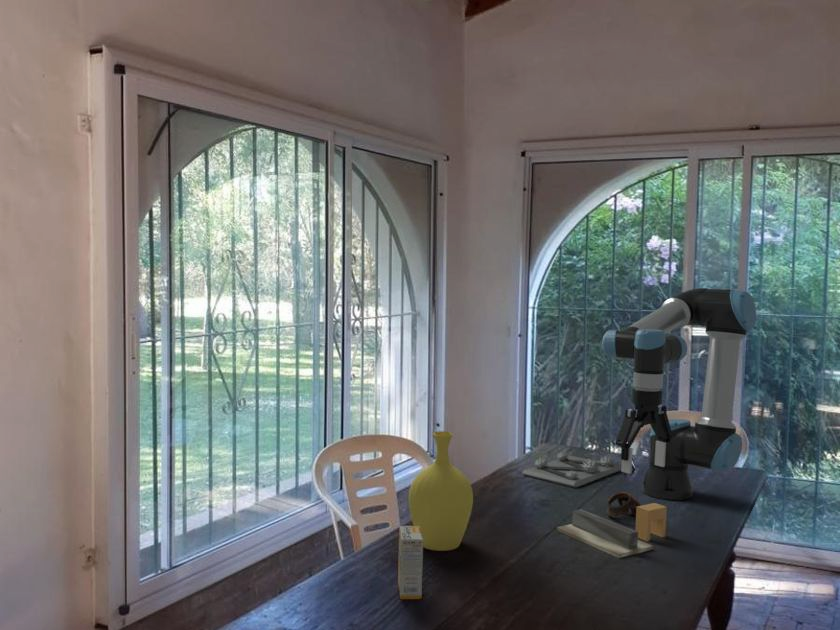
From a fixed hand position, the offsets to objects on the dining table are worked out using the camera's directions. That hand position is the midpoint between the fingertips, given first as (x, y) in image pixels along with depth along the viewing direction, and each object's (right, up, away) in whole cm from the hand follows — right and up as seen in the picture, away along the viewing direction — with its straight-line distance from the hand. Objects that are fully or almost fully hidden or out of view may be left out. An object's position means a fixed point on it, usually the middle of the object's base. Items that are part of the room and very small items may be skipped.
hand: (643, 469), depth 211 cm
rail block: (-11, -18, -3) cm, 21 cm away
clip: (+2, -18, +1) cm, 18 cm away
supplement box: (-61, -19, -38) cm, 74 cm away
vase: (-54, -17, -9) cm, 57 cm away
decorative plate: (-7, -14, +61) cm, 63 cm away
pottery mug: (-1, -17, +17) cm, 24 cm away
